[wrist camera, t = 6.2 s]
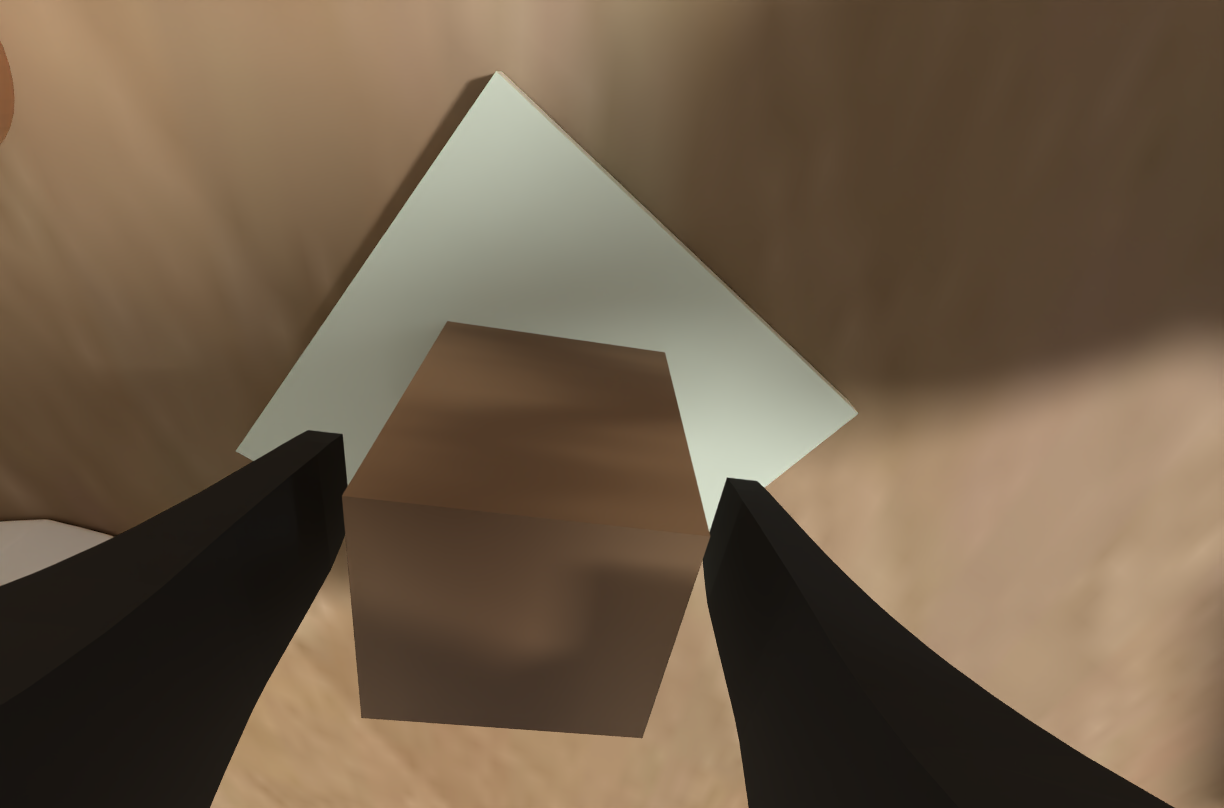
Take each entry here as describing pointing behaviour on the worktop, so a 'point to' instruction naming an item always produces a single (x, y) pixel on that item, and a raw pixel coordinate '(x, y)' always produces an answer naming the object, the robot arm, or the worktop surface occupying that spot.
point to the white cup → (40, 545)
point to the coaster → (551, 303)
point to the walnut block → (524, 537)
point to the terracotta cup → (5, 95)
